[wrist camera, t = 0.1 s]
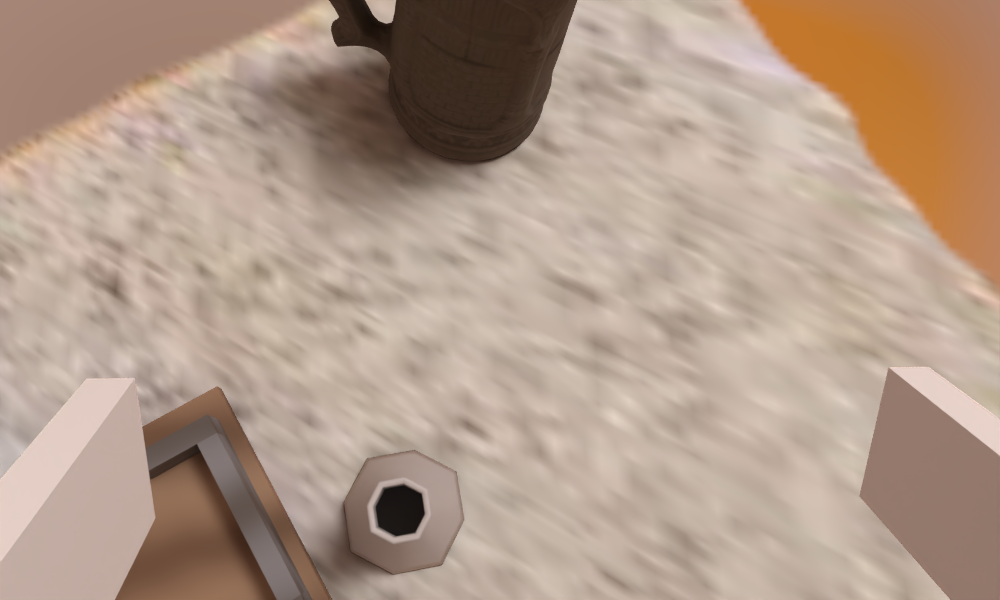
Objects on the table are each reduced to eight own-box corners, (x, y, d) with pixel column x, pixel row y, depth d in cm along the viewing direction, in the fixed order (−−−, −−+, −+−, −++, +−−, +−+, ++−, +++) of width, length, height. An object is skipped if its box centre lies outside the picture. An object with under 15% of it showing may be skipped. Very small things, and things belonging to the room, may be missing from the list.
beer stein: (550, 27, 57) (612, -218, 38) (557, 165, 55) (628, -24, 36) (332, 21, 56) (283, -236, 37) (329, 163, 53) (273, -35, 34)
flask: (332, 565, 47) (308, 578, 37) (355, 441, 49) (338, 423, 39) (454, 582, 47) (462, 600, 38) (473, 459, 49) (484, 446, 40)
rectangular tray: (347, 627, 46) (340, 637, 43) (115, 774, 43) (88, 796, 40) (221, 388, 49) (206, 379, 46) (-5, 511, 46) (-39, 511, 43)
